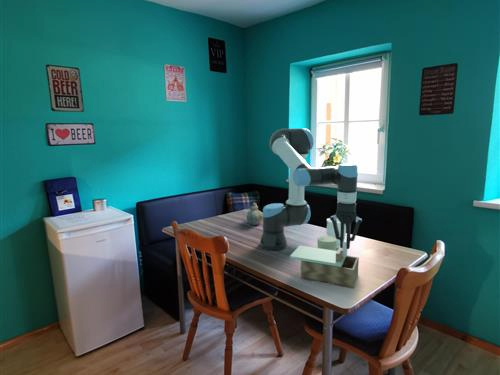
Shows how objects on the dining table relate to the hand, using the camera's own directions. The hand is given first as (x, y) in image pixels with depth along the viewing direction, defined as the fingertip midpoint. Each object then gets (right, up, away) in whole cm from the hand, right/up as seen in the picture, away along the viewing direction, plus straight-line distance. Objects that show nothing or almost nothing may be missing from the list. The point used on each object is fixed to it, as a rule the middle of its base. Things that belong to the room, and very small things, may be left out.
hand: (344, 255), depth 134 cm
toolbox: (-5, -10, +4) cm, 12 cm away
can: (-3, -7, +21) cm, 22 cm away
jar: (+7, -4, +41) cm, 42 cm away
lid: (-10, -2, +5) cm, 11 cm away
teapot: (-37, +3, +87) cm, 94 cm away
